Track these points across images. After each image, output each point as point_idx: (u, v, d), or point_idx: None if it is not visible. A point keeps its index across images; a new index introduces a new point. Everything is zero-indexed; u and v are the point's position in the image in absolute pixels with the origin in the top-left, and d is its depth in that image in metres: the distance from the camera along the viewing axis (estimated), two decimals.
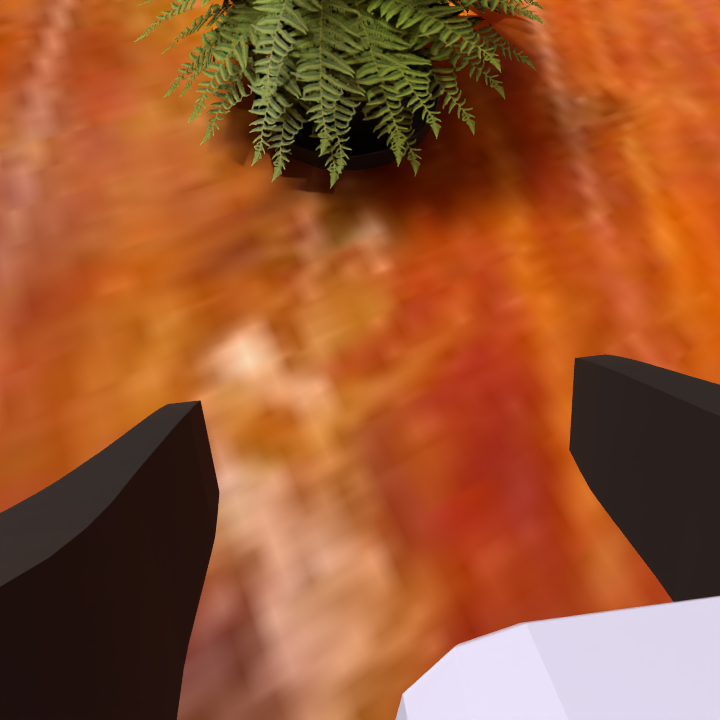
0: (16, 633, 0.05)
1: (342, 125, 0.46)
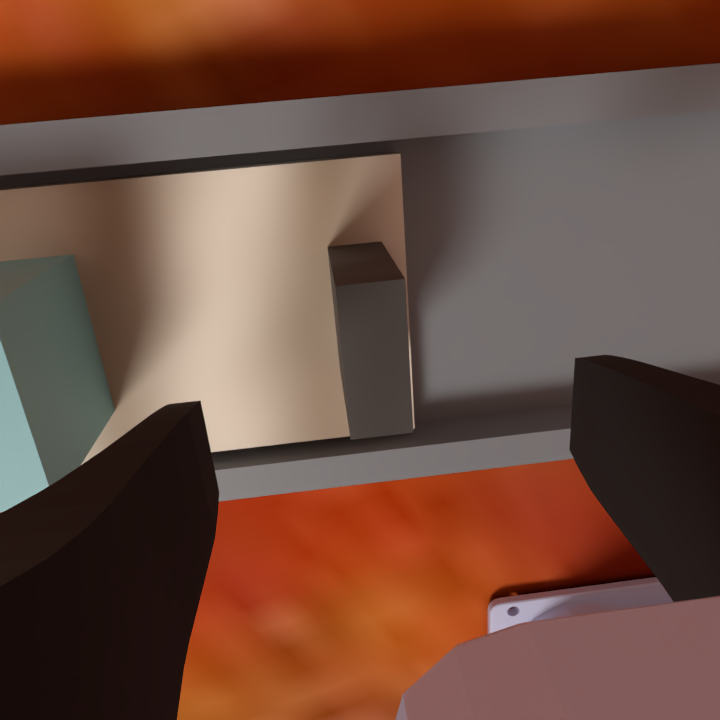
0: (17, 632, 0.05)
1: None
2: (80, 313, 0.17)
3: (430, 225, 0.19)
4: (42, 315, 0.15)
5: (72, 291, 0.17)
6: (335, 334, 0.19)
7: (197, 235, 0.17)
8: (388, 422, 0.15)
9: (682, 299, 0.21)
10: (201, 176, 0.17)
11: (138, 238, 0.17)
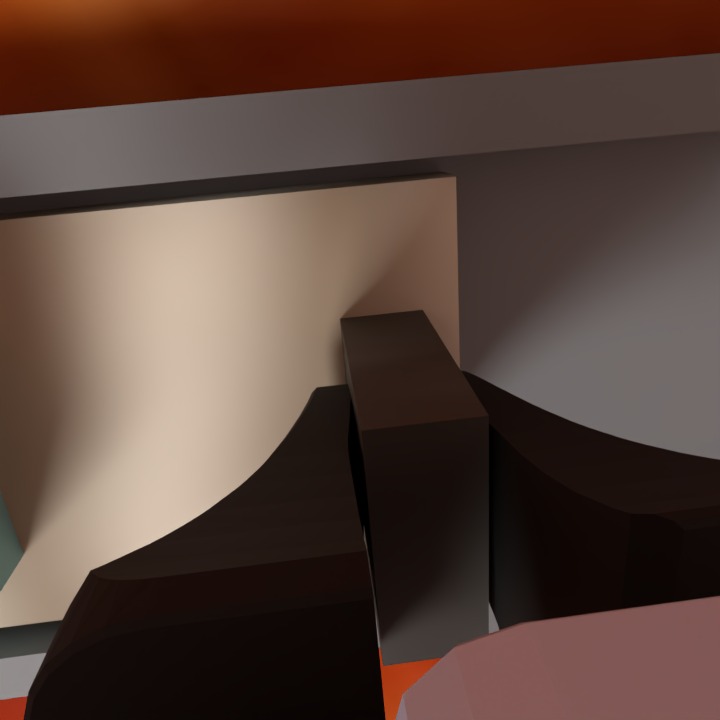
0: None
1: None
2: None
3: (492, 279, 0.13)
4: None
5: None
6: None
7: (137, 304, 0.11)
8: (447, 638, 0.09)
9: None
10: (140, 214, 0.10)
11: (44, 310, 0.11)
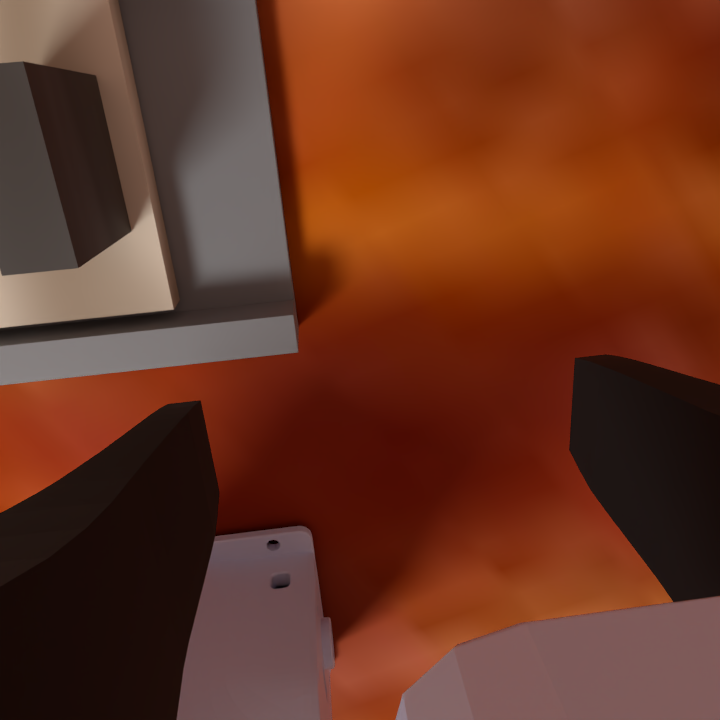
0: (16, 633, 0.05)
1: None
2: None
3: None
4: None
5: None
6: None
7: None
8: (44, 254, 0.13)
9: (163, 195, 0.18)
10: None
11: None
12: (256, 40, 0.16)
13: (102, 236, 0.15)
